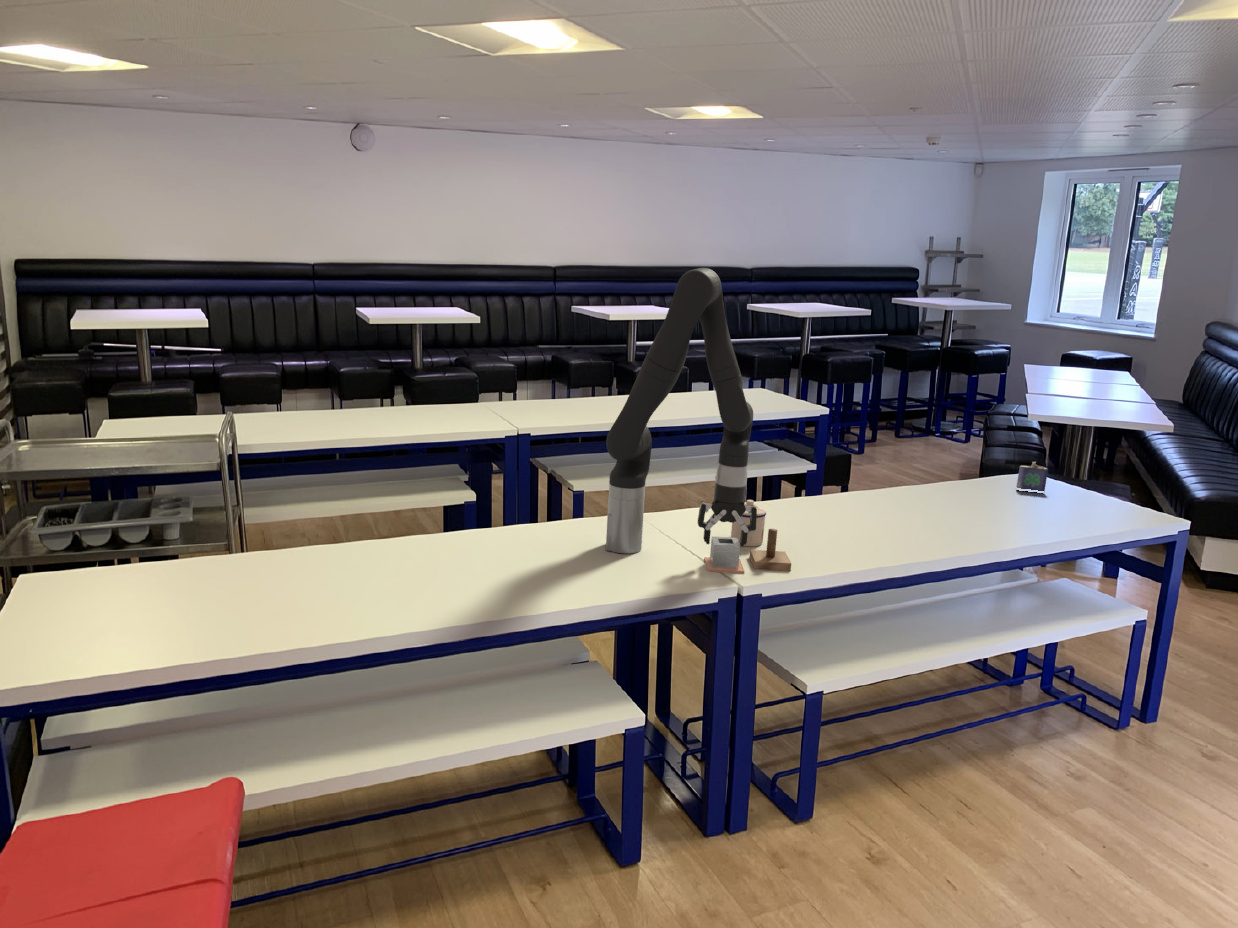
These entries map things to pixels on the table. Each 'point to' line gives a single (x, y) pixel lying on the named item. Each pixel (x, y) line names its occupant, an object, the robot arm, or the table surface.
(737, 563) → the grey square nut
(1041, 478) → the flask
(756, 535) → the beige lidded canister
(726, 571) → the tile
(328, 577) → the table surface
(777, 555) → the post block
